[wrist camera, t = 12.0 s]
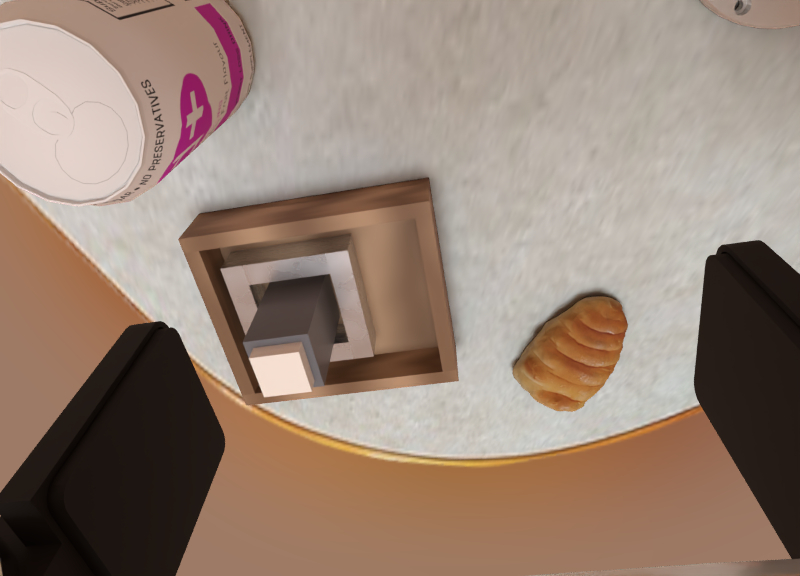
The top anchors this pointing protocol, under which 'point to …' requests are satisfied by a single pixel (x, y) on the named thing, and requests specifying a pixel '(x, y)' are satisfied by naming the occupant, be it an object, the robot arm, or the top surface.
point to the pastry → (573, 354)
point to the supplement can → (113, 92)
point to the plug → (293, 335)
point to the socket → (299, 261)
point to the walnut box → (380, 268)
